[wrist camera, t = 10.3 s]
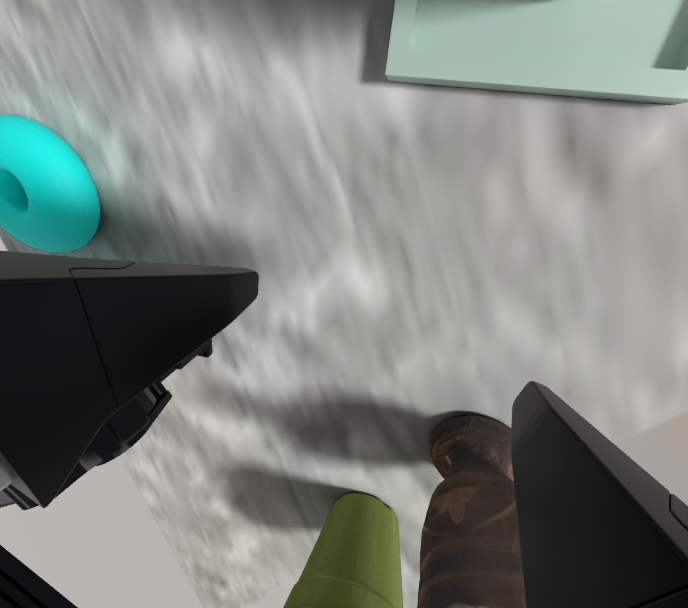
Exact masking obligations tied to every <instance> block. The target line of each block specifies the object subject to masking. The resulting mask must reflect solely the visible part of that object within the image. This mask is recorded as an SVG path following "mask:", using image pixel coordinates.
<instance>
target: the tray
mask: <svg viewBox="0 0 688 608" xmlns="http://www.w3.org/2000/svg"><path fill="white" fill-rule="evenodd" d="M385 75H386V77H387V79H388V81H396V82H408V83H420V84H432V85H444V86H456V87H468V88H480V89H492V90H504V91H516V92H528V93H540V94H552V95H564V96H576V97H589V98H601V99H613V100H625V101H637V102H649V103H661V104H673V105H675V104H680V103H685V102H688V0H395V6H394V13H393V21H392V28H391V35H390V43H389V50H388V57H387V65H386V72H385Z"/></svg>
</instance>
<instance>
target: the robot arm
mask: <svg viewBox="0 0 688 608" xmlns="http://www.w3.org/2000/svg"><path fill="white" fill-rule="evenodd" d="M258 281H259V275H258V273H257V272H256V271H253V270H251V269H248V268H233V267H215V266H198V265H180V264H162V263H145V262H137V263H136V262H134V261H118V260H103V259H89V258H77V257H65V256H54V255H42V254H31V253H19V252H8V251H0V508H1V507H4V506H8V505H11V504H15V503H16V504H17V505H18V506H19V507H20V508H21V509H22V510H27V509H31V508H33V507H36V506H38V505H40V506H41V507H42V508H45V507H47V506H48V505H49V504H50V503H51V502H52V500H53V499H54V498H56V497H57V496H58V495H59V494H60V493H62V492H63V491H64V490H65V489H66V488H68V487H69V486H70V485H71V484H72V483H74V482H75V481H76V480H77V479H78V478H80V477H81V476H82V475H83V474H85V473H86V472H87V471H89V470H90V469H92V468H93V467H94V466H99V465H102V464H105V463H107V462H109V461H111V460H113V459H114V458H116V457H118V456H119V455H121V454H122V453H124V452H125V451H126V450H128V449H129V448H130V447H132V446H133V445H134V444H135V443H136V442H137V441H138V440H139V439H140V438H141V437H142V436H143V435H144V434H145V433H146V432H147V430H148V429H149V428H150V426H151V425H152V423H153V422H154V421H155V419H156V418H157V417H158V415H159V414H160V413H161V411H162V410H163V409H164V407H165V406H166V404H167V403H168V402H169V400H170V399H171V398H172V395H171V393H170V392H169V391H167V390H166V389H165V387H164V386H163V384H162V383H161V382H162V381H163V380H164V379H166V378H167V377H168V376H169V375H170V374H171V373H173V372H174V371H175V370H176V369H182V368H183V367H184V366H185V365H186V364H188V363H189V362H190V361H191V360H192V359H193V358H195V357H196V356H197V355H198V356H202V357H209V356H210V355H211V354H212V352H213V351H212V339H211V338H212V337H214V336H215V335H216V334H218V333H219V332H220V331H222V330H223V329H224V328H225V327H227V326H228V325H229V324H230V323H231V322H232V321H234V320H235V319H236V318H237V317H238V316H239V315H240V314H241V313H242V312H243V311H244V310H245V309H246V308H247V307H248V306H249V305H250V304H251V303H252V302H253V301H254V300H255V299H256V297H257V295H258ZM511 459H512V469H513V479H514V489H515V499H516V509H517V519H518V529H519V539H520V549H521V559H522V569H523V579H524V589H525V599H526V608H688V506H687V505H686V504H685V503H683V502H682V501H681V500H680V499H679V498H677V497H676V496H675V495H674V494H670V492H669V491H668V490H667V489H666V488H665V487H664V486H663V485H661V484H660V483H659V482H658V481H657V480H655V479H654V478H653V477H652V476H651V475H650V474H648V473H647V472H646V471H645V470H644V469H642V468H641V467H640V466H639V465H638V464H637V463H636V462H634V461H633V460H632V459H631V458H630V457H629V456H627V455H626V454H625V453H624V452H623V451H621V450H620V449H619V448H618V447H617V446H616V445H614V444H613V443H612V442H611V441H610V440H609V439H607V438H606V437H605V436H604V435H603V434H602V433H600V432H599V431H598V430H597V429H596V428H594V427H593V426H592V425H591V424H590V423H589V422H587V421H586V420H585V419H584V418H583V417H582V416H580V415H579V414H578V413H577V412H576V411H575V410H573V409H572V408H571V407H570V406H569V405H567V404H566V403H565V402H564V401H563V400H562V399H560V398H559V397H558V396H557V395H556V394H555V393H553V392H552V391H551V390H550V389H549V388H548V387H546V386H544V385H542V384H539V383H537V382H534V381H530V382H528V383H527V384H526V386H525V387H524V388H523V390H522V391H521V392H520V394H519V395H518V396H517V398H516V399H515V401H514V403H513V407H512V428H511ZM0 608H77V607H76V606H75V605H74V604H72V603H71V602H70V601H69V600H68V599H66V598H65V597H64V596H63V595H61V594H60V593H59V592H58V591H56V590H55V589H54V588H53V587H52V586H50V585H49V584H48V583H47V582H45V581H44V580H43V579H42V578H40V577H39V576H38V575H37V574H35V573H34V572H33V571H32V570H31V569H29V568H28V567H27V566H26V565H24V564H23V563H22V562H21V561H19V560H18V559H17V558H16V557H14V556H13V555H12V554H11V553H10V552H8V551H7V550H6V549H5V548H3V547H2V546H1V545H0Z"/></svg>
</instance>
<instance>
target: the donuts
mask: <svg viewBox="0 0 688 608" xmlns="http://www.w3.org/2000/svg"><path fill="white" fill-rule="evenodd" d="M99 220H100V203H99V197H98V193H97V189H96V186H95V184H94V181H93V179H92V177H91V175H90V173H89V171H88V169H87V167H86V166H85V164H84V163H83V161H82V160H81V158H80V157H79V156H78V154H77V153H76V152H75V151H74V149H73V148H72V147H71V146H70V145H69V144H68V143H67V142H66V141H65V140H64V139H63V138H61V137H60V136H59V135H58V134H57V133H55V132H54V131H52V130H51V129H49V128H48V127H46V126H44V125H43V124H41V123H39V122H37V121H34V120H32V119H29V118H26V117H22V116H18V115H10V114H2V115H0V226H1V227H2V228H3V229H4V230H5V231H6V232H8V233H9V234H10V235H12V236H13V237H15V238H16V239H18V240H20V241H21V242H23V243H25V244H27V245H29V246H32V247H34V248H37V249H40V250H44V251H50V252H69V251H73V250H76V249H79V248H81V247H82V246H84V245H85V244H87V243H88V242H89V241H90V240H91V239H92V237H93V236H94V235H95V233H96V231H97V228H98V225H99Z"/></svg>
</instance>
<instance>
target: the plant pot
mask: <svg viewBox="0 0 688 608" xmlns="http://www.w3.org/2000/svg"><path fill="white" fill-rule="evenodd" d="M283 608H403V595H402V577H401V561H400V544H399V526H398V519H397V516H396V514H395V513H394V511H393V510H392V509H389V508H387V507H386V506H385V505H384V504H383V503H382V501H381V500H379V499H377V498H375V497H372V496H369V495H365V494H359V493H350V494H345V495H344V496H343V497H341V498H340V499H337V500H336V501H335V503H334V505H333V507H332V509H331V511H330V513H329V515H328V518H327V520H326V522H325V524H324V526H323V529H322V531H321V533H320V535H319V537H318V540H317V542H316V544H315V546H314V548H313V551H312V553H311V555H310V557H309V559H308V561H307V564H306V566H305V568H304V570H303V572H302V574H301V576H300V579H299V581H298V582H297V583H296V584H295V585H294V587H293V589H292V591H291V593H290V595H289V597H288V599H287V601H286V603H285V605H284V607H283Z"/></svg>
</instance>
